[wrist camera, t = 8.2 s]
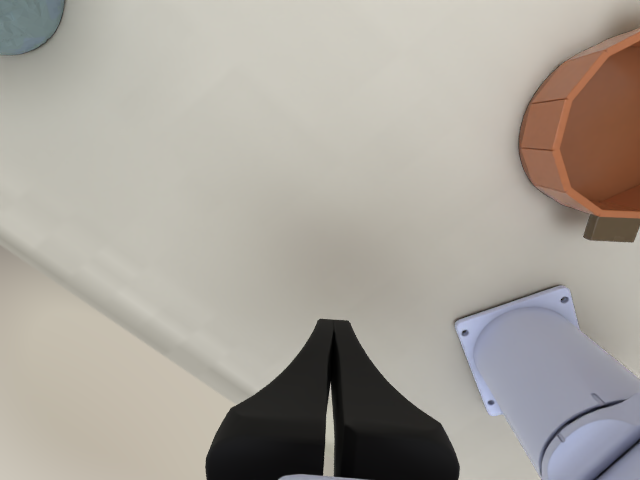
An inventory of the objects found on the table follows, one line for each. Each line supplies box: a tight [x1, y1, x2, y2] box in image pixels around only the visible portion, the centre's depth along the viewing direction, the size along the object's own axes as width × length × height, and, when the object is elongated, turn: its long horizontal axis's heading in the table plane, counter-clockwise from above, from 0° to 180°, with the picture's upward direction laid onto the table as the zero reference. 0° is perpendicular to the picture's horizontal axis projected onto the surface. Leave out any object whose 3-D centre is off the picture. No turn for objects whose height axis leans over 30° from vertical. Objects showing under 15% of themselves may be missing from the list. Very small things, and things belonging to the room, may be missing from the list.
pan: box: [519, 28, 640, 242], centre depth 17 cm, size 9×12×4 cm
